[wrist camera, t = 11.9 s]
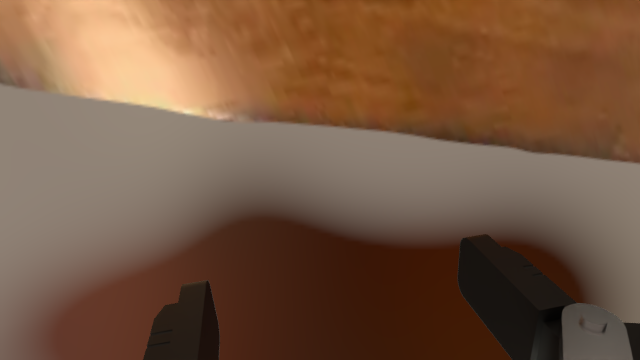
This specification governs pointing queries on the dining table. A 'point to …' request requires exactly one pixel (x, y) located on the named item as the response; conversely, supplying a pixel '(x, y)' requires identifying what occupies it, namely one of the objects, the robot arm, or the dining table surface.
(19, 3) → the dining table surface
